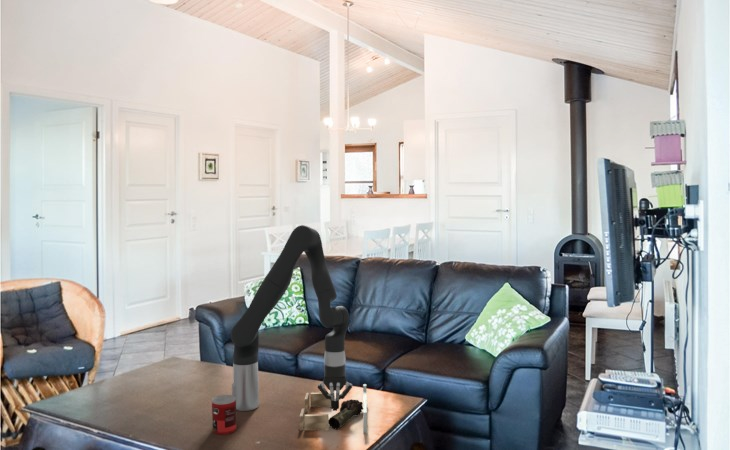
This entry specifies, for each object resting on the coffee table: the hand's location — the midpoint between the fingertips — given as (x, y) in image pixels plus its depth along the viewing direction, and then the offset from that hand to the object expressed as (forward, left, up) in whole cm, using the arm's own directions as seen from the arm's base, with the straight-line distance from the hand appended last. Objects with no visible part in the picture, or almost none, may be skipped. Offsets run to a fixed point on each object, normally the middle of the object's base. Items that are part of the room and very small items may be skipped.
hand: (335, 409), depth 197 cm
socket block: (-7, 0, -3) cm, 7 cm away
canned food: (-37, -10, -3) cm, 39 cm away
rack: (+11, 0, -3) cm, 11 cm away
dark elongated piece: (+4, -3, -3) cm, 6 cm away
